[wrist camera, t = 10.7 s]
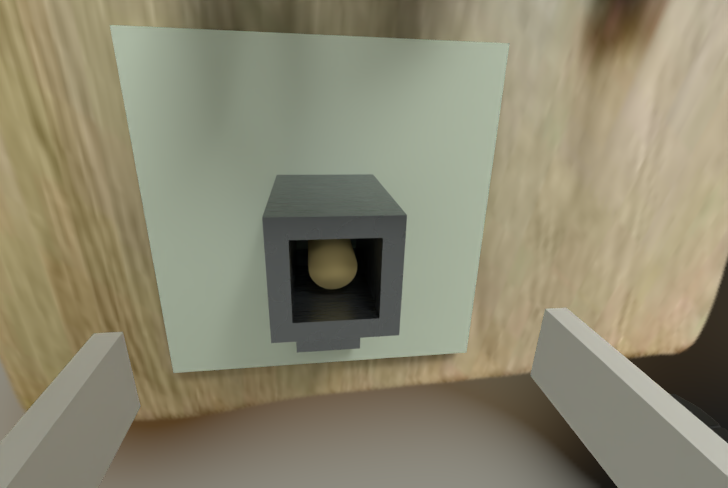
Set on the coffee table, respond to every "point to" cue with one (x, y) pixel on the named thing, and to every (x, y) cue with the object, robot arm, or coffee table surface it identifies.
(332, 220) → the square collar
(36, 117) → the coffee table surface
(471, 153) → the post board
